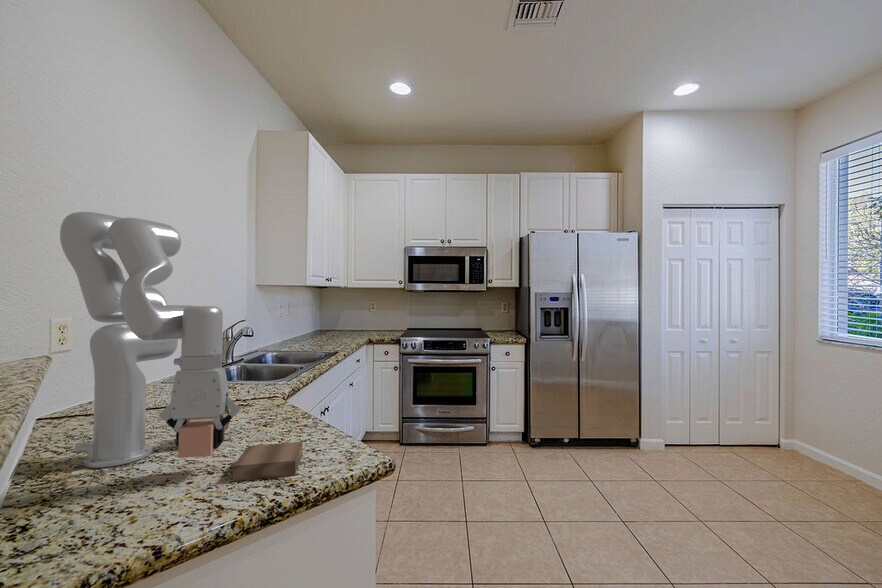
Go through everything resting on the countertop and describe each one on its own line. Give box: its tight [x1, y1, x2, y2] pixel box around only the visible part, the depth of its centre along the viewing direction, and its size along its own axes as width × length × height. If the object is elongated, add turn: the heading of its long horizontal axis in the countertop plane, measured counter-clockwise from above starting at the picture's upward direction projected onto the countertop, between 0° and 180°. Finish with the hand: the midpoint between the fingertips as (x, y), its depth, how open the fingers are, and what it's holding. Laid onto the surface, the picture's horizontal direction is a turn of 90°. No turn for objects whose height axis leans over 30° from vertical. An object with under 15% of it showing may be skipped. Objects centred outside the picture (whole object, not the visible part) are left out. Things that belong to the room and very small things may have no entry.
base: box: [232, 441, 304, 482], centre depth 86 cm, size 12×12×3 cm
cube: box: [177, 419, 217, 459], centre depth 83 cm, size 6×6×6 cm
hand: (200, 447), depth 83 cm, fingers closed on cube, 6 cm apart
